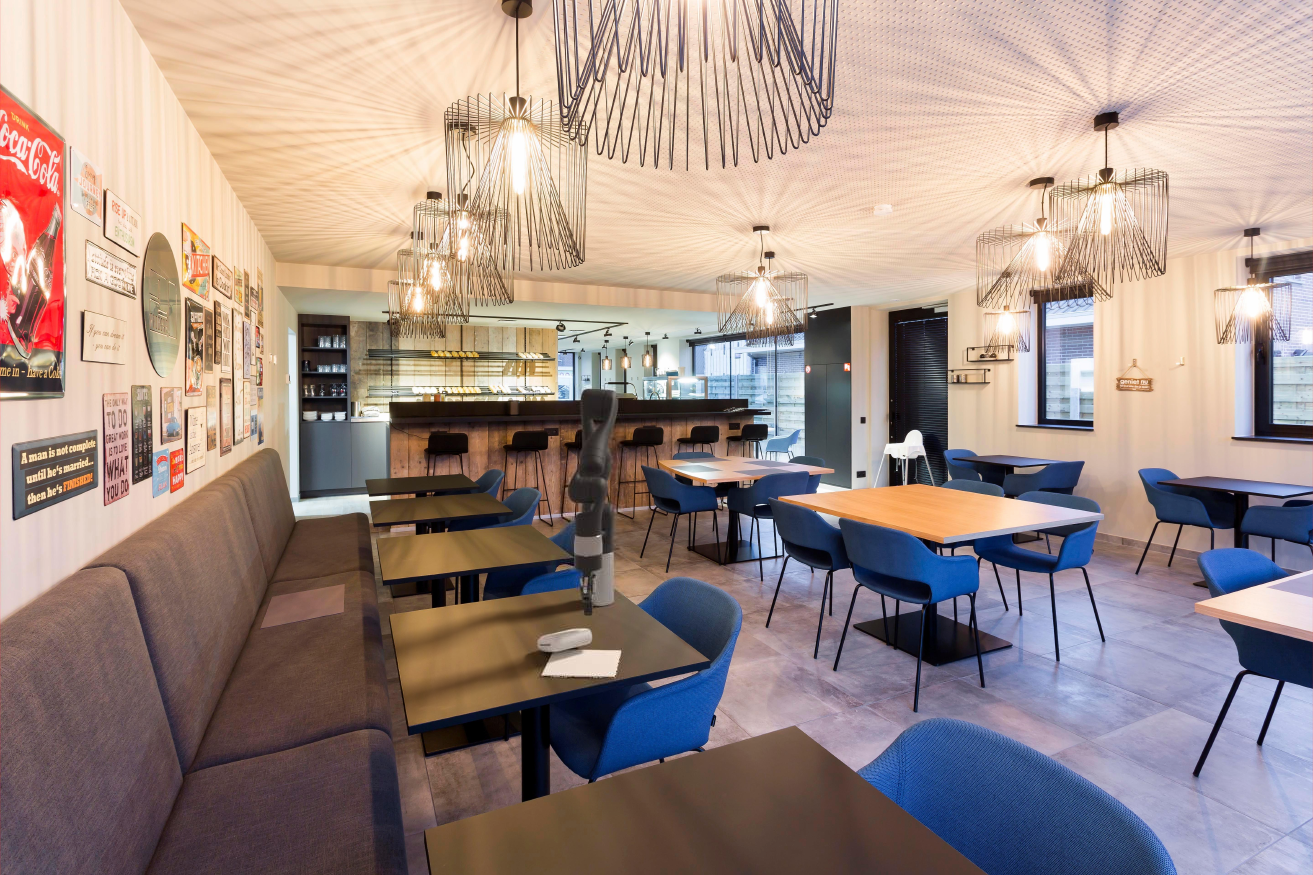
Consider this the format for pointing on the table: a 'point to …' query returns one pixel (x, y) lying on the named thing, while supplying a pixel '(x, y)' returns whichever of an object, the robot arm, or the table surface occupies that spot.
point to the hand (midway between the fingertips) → (588, 614)
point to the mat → (583, 663)
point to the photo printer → (564, 640)
